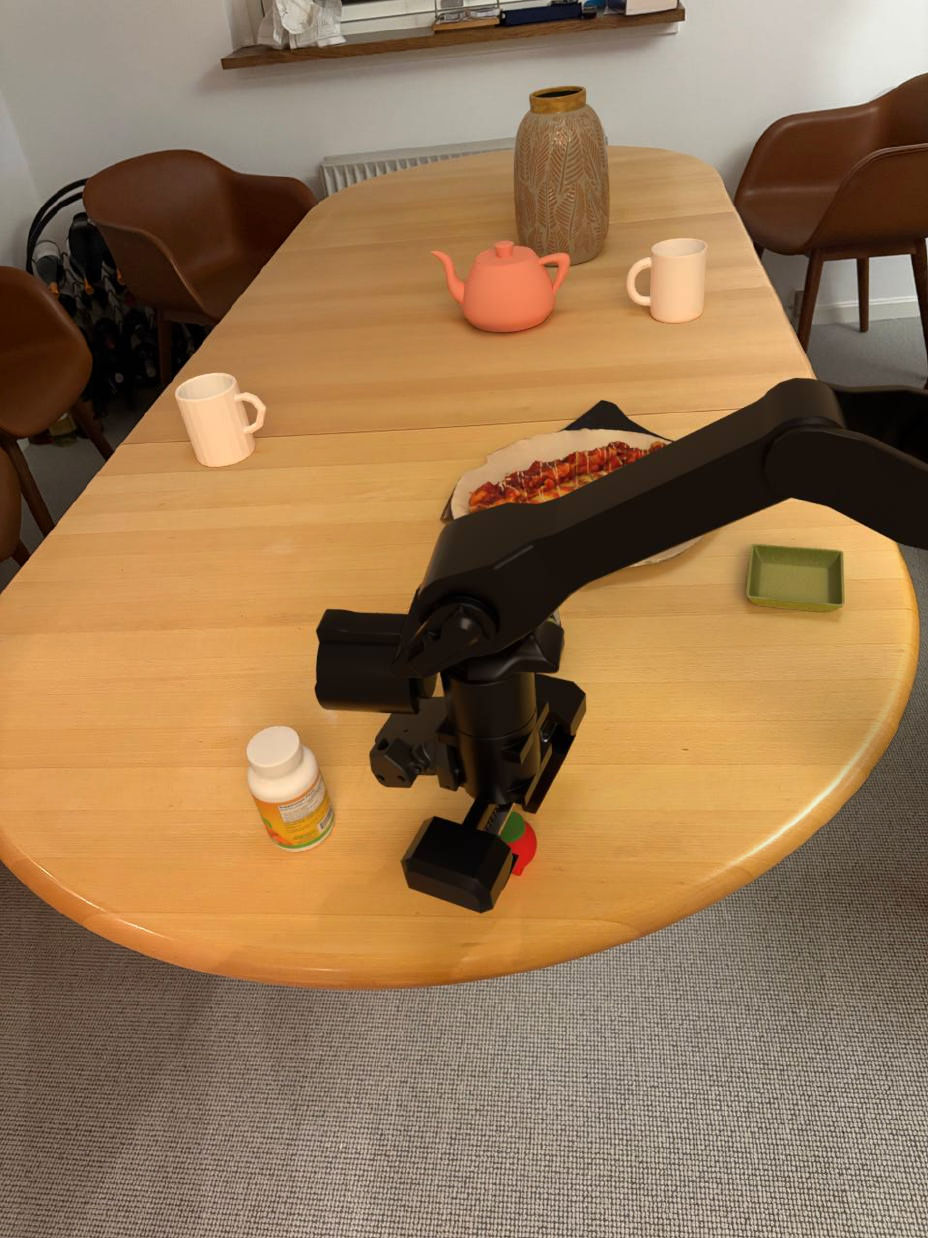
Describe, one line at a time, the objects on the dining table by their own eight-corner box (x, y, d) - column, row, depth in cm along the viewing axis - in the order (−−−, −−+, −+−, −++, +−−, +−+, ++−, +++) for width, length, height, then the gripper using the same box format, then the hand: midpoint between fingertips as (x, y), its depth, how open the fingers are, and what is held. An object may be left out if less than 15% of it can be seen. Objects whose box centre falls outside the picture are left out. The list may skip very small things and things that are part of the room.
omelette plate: (627, 399, 118) (628, 350, 113) (778, 545, 93) (786, 490, 88) (407, 463, 113) (397, 415, 108) (502, 635, 88) (495, 583, 83)
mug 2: (625, 326, 138) (625, 259, 131) (626, 306, 144) (626, 241, 138) (704, 323, 136) (708, 254, 129) (702, 302, 142) (706, 236, 135)
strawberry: (546, 845, 67) (543, 811, 64) (526, 889, 64) (522, 855, 61) (497, 830, 68) (492, 796, 66) (476, 872, 66) (470, 838, 63)
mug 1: (265, 470, 116) (245, 401, 110) (186, 466, 119) (162, 399, 113) (290, 439, 122) (273, 373, 115) (214, 436, 125) (193, 371, 119)
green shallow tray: (841, 623, 82) (845, 606, 80) (743, 613, 84) (745, 596, 83) (840, 567, 88) (843, 550, 86) (748, 559, 90) (750, 542, 89)
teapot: (432, 342, 142) (421, 264, 134) (447, 306, 153) (437, 232, 145) (569, 334, 138) (566, 254, 130) (574, 298, 149) (571, 222, 141)
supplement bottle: (262, 814, 72) (229, 734, 66) (325, 789, 73) (298, 708, 67) (278, 864, 68) (244, 784, 62) (344, 837, 69) (317, 756, 63)
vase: (586, 274, 157) (582, 103, 140) (502, 267, 165) (488, 104, 148) (624, 242, 168) (624, 79, 151) (543, 236, 176) (535, 81, 159)
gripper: (441, 592, 65) (465, 735, 75) (305, 781, 52) (356, 922, 62) (586, 622, 61) (591, 769, 71) (475, 835, 48) (500, 977, 58)
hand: (511, 850), depth 66 cm, fingers open, 7 cm apart
